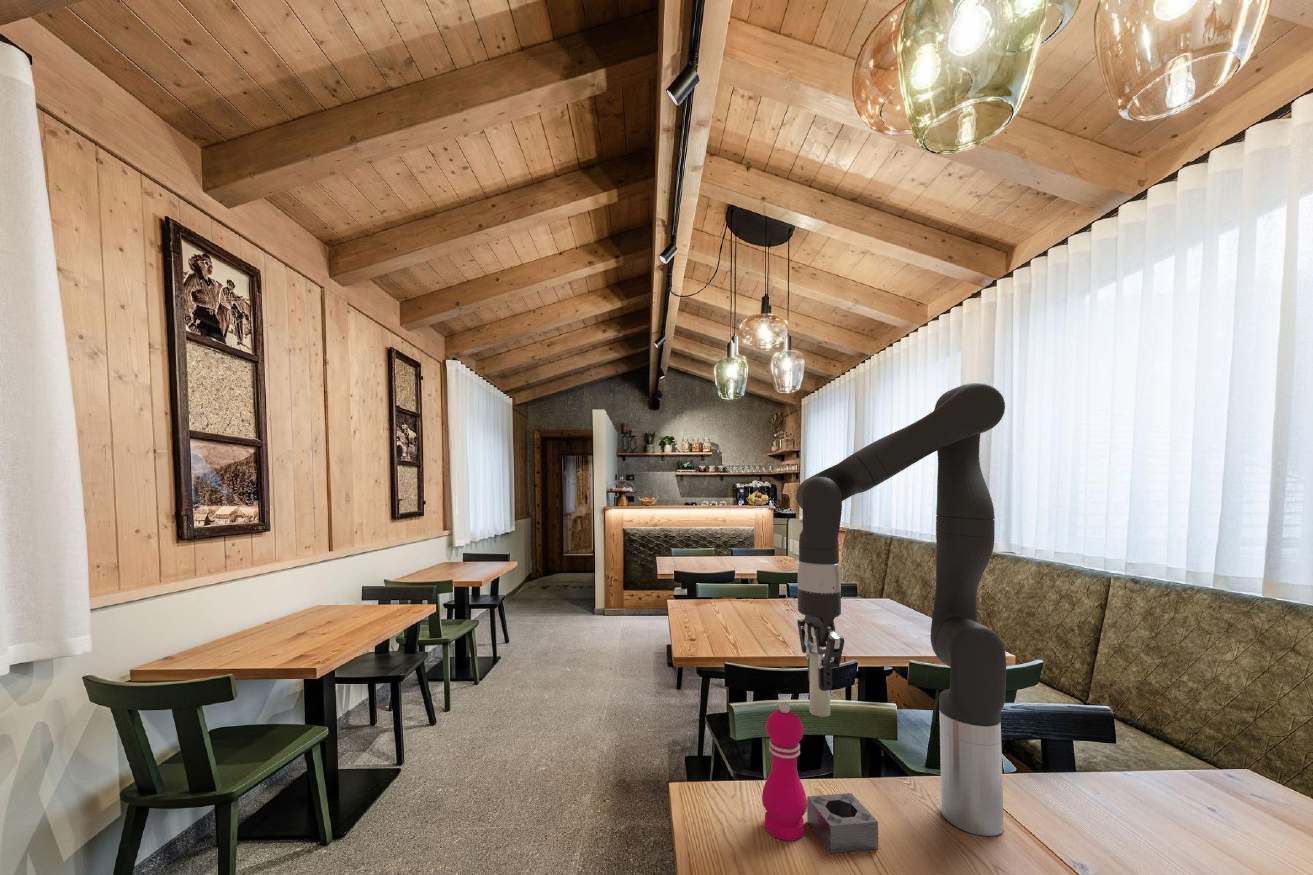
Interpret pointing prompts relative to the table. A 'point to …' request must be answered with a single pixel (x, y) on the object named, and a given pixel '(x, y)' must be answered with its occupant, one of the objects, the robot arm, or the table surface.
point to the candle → (817, 690)
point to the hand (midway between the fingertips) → (819, 684)
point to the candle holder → (842, 823)
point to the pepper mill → (784, 777)
